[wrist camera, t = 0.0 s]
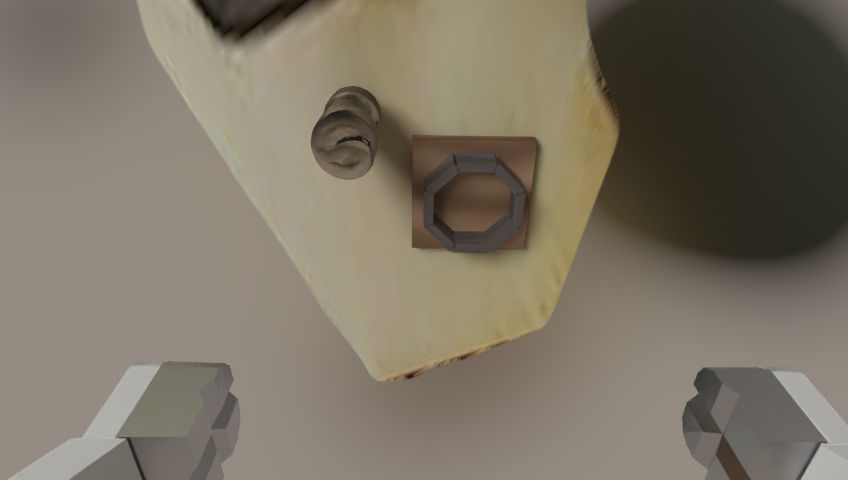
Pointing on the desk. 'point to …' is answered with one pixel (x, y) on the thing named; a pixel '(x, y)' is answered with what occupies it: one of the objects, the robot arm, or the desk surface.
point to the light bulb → (347, 133)
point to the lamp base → (471, 192)
